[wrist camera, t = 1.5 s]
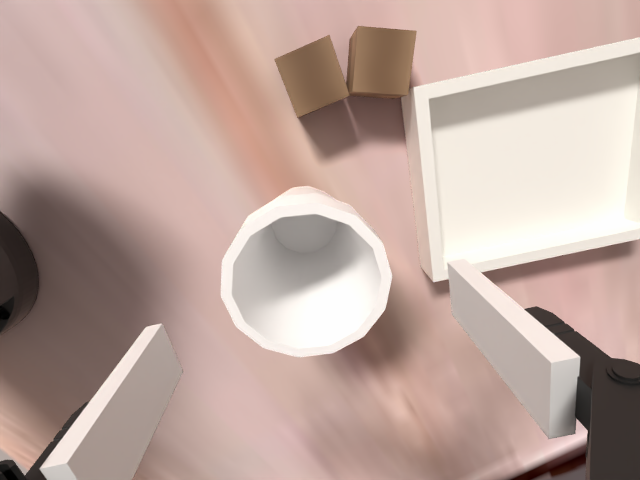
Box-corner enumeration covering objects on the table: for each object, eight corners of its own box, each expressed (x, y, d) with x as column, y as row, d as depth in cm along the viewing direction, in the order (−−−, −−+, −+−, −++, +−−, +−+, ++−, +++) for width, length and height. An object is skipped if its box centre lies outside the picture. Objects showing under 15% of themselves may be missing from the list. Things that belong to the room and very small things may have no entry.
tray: (420, 266, 33) (433, 282, 30) (400, 91, 28) (413, 87, 24) (623, 223, 33) (659, 234, 29) (643, 37, 27) (691, 25, 24)
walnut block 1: (297, 117, 28) (297, 117, 24) (278, 67, 27) (274, 59, 23) (342, 98, 28) (349, 95, 24) (325, 47, 26) (329, 34, 23)
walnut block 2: (345, 95, 28) (352, 91, 24) (349, 39, 26) (357, 25, 22) (393, 98, 28) (408, 95, 24) (399, 43, 27) (416, 31, 23)
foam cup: (367, 249, 32) (407, 330, 20) (275, 280, 33) (260, 375, 20) (337, 152, 29) (363, 176, 17) (236, 187, 29) (190, 236, 17)
